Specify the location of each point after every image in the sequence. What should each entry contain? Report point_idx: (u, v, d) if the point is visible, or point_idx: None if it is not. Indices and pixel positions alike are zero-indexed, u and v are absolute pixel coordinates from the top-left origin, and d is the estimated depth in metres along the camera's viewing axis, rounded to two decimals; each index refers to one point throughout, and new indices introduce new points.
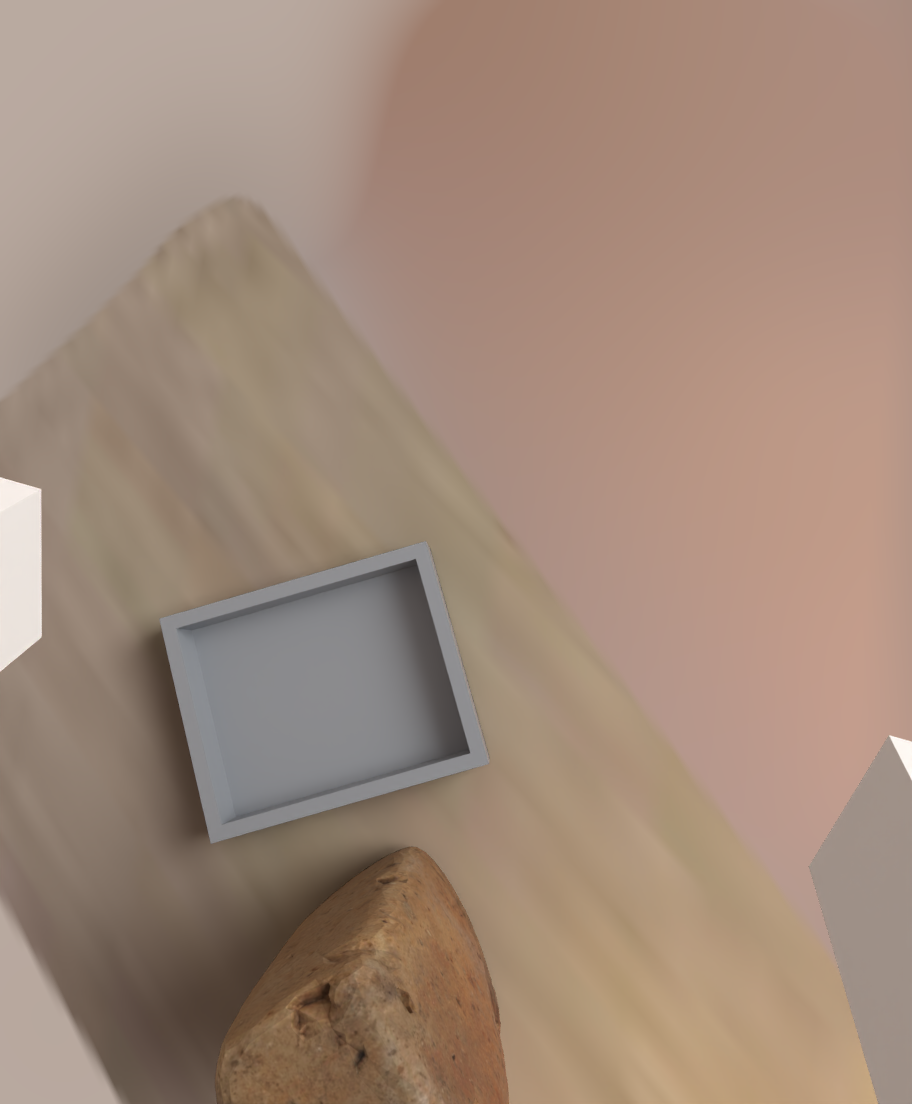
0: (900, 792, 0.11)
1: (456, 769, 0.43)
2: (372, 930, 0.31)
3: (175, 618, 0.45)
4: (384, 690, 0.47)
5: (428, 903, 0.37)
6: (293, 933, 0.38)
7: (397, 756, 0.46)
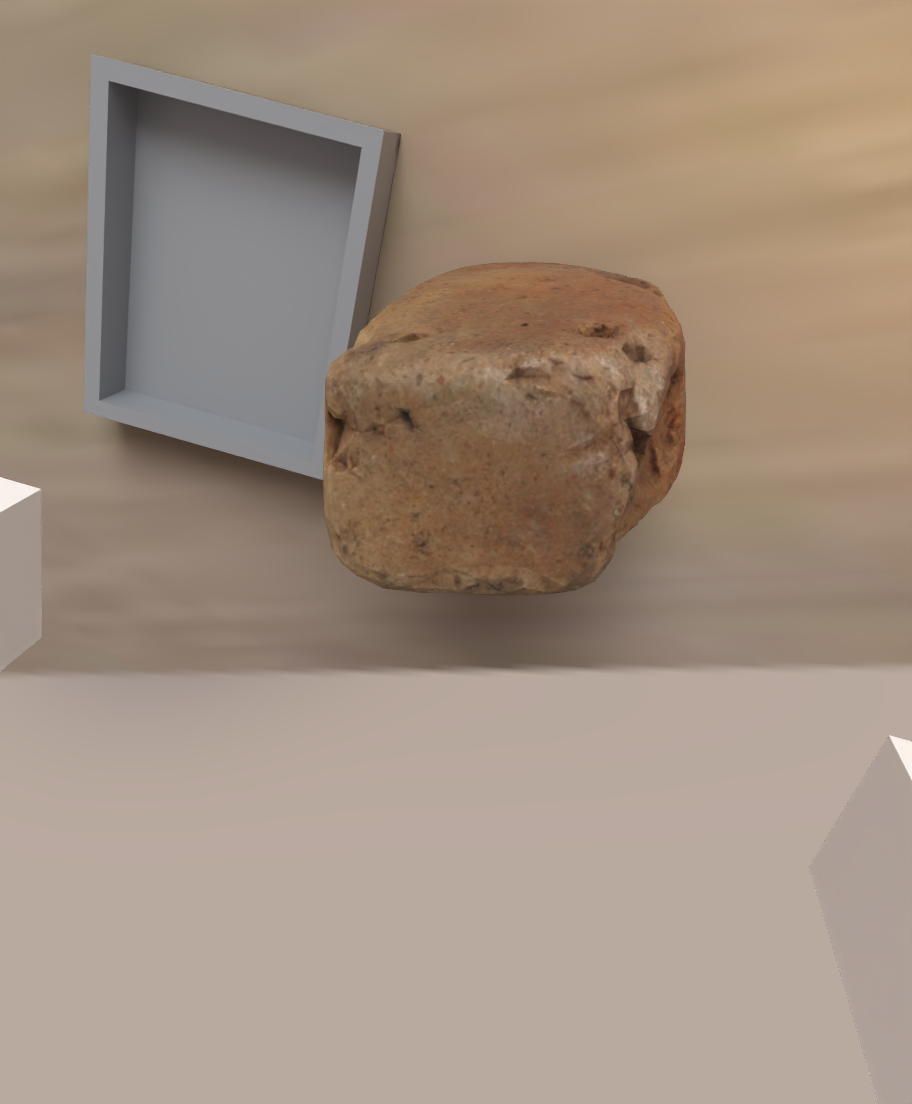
0: (900, 792, 0.11)
1: (372, 176, 0.33)
2: None
3: (88, 396, 0.40)
4: (267, 217, 0.37)
5: (444, 282, 0.29)
6: None
7: (344, 244, 0.37)
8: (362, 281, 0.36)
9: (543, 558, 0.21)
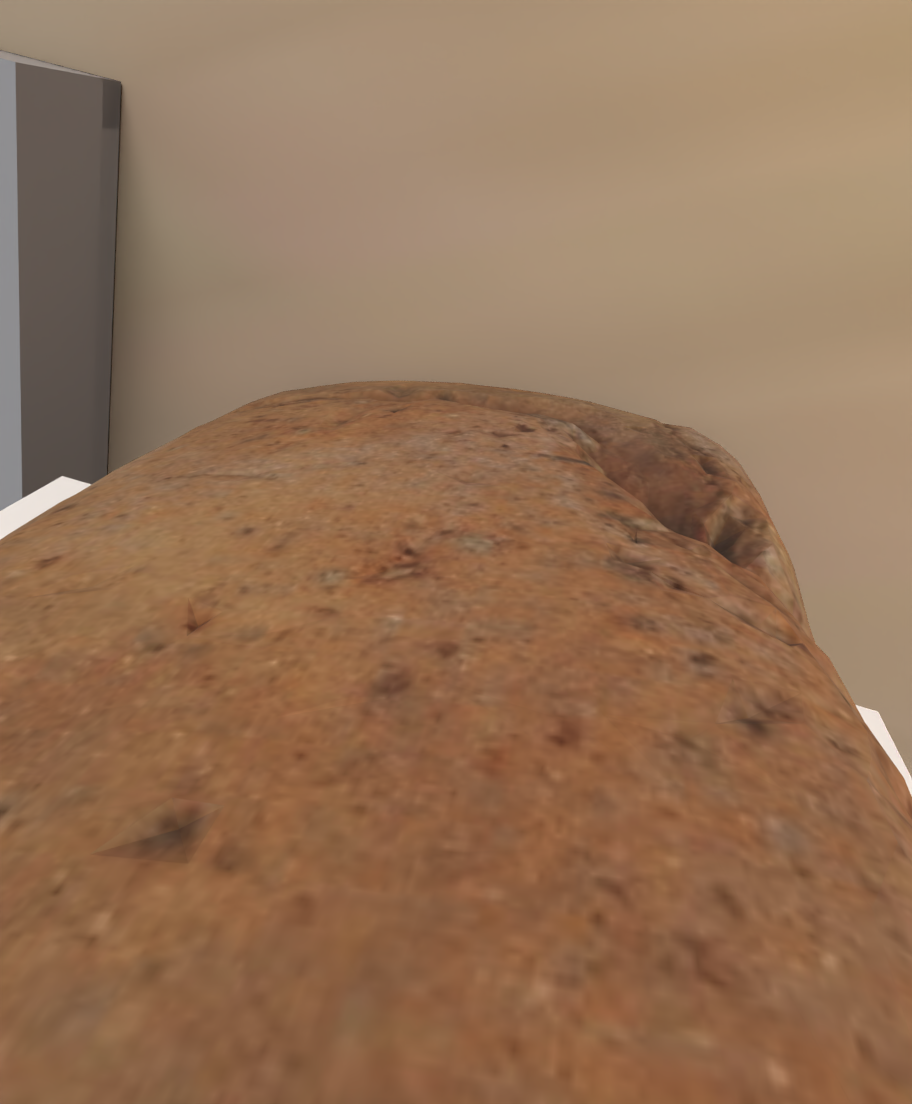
0: None
1: (7, 183, 0.13)
2: None
3: None
4: None
5: (67, 540, 0.09)
6: None
7: None
8: (44, 424, 0.16)
9: None
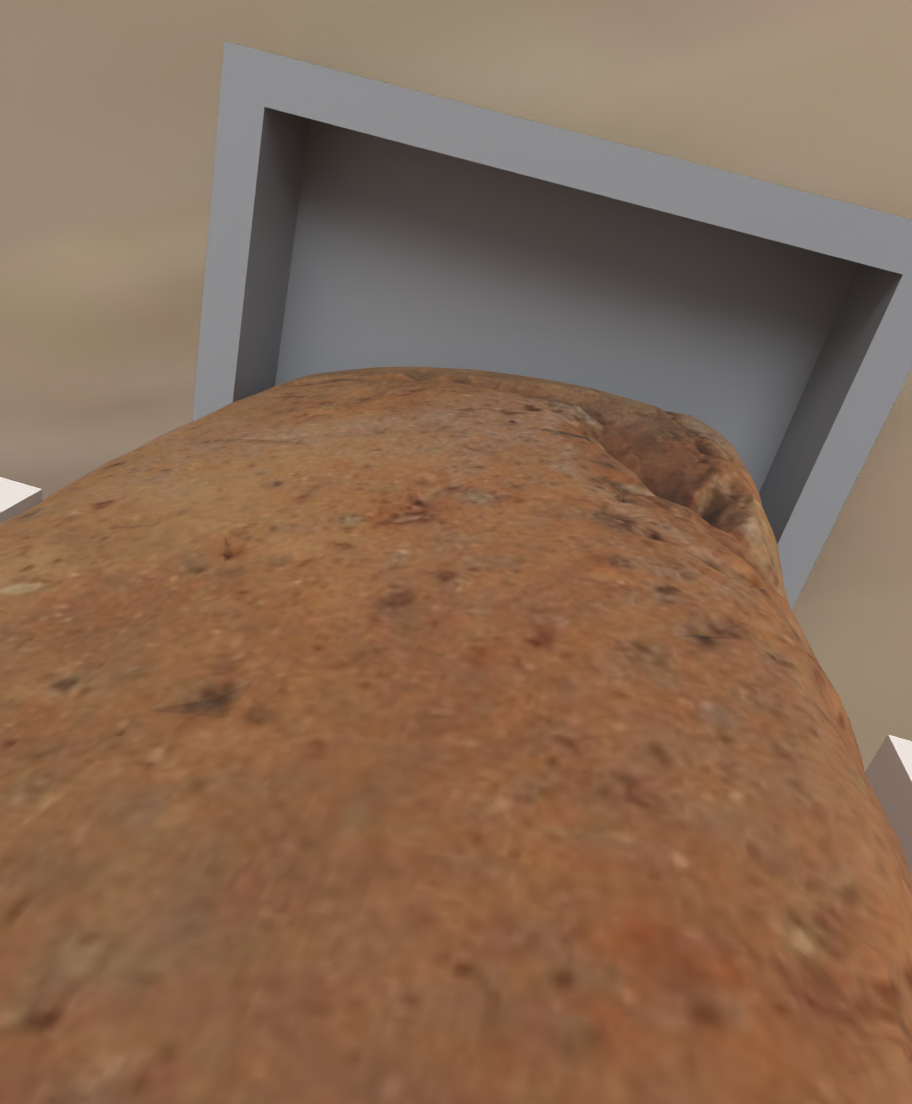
0: (899, 791, 0.11)
1: (911, 341, 0.14)
2: None
3: None
4: None
5: (118, 488, 0.10)
6: None
7: (739, 453, 0.17)
8: None
9: None
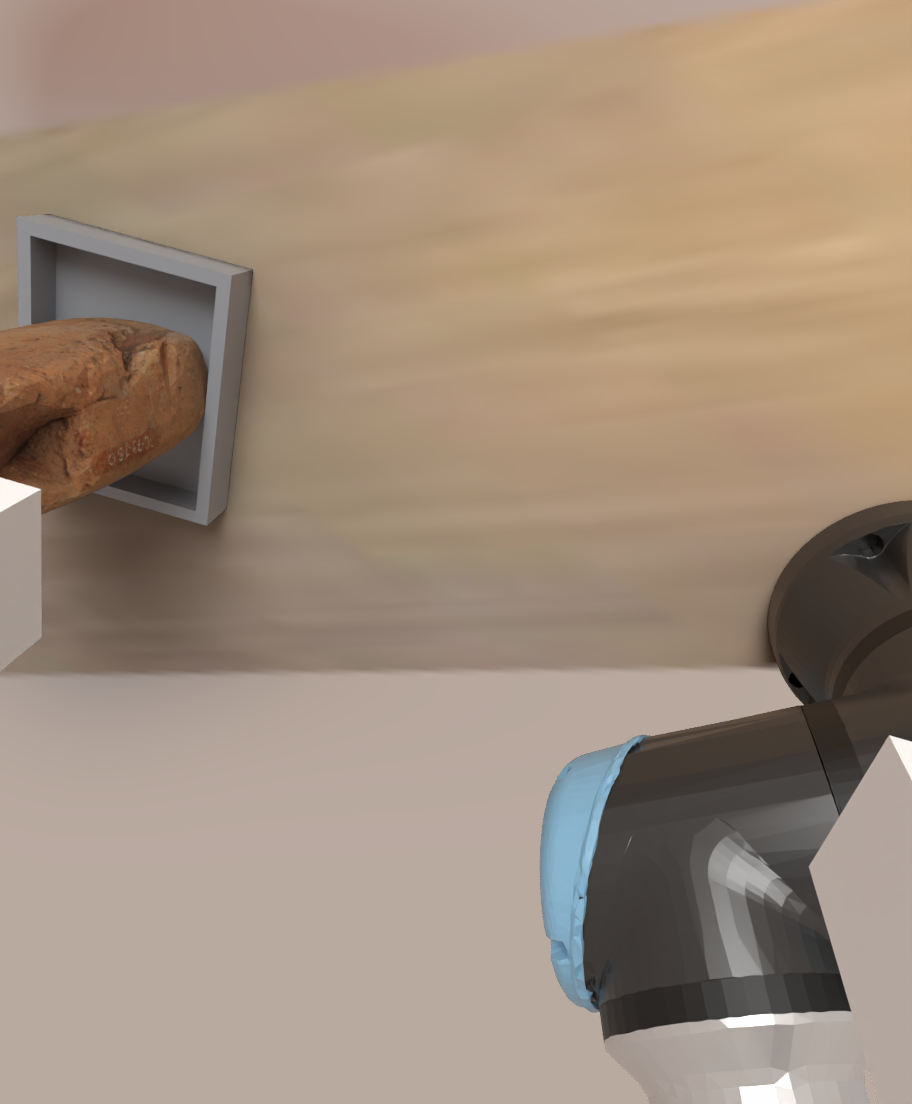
0: (900, 792, 0.11)
1: (225, 306, 0.45)
2: None
3: None
4: None
5: None
6: None
7: None
8: (226, 379, 0.48)
9: None
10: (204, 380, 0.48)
